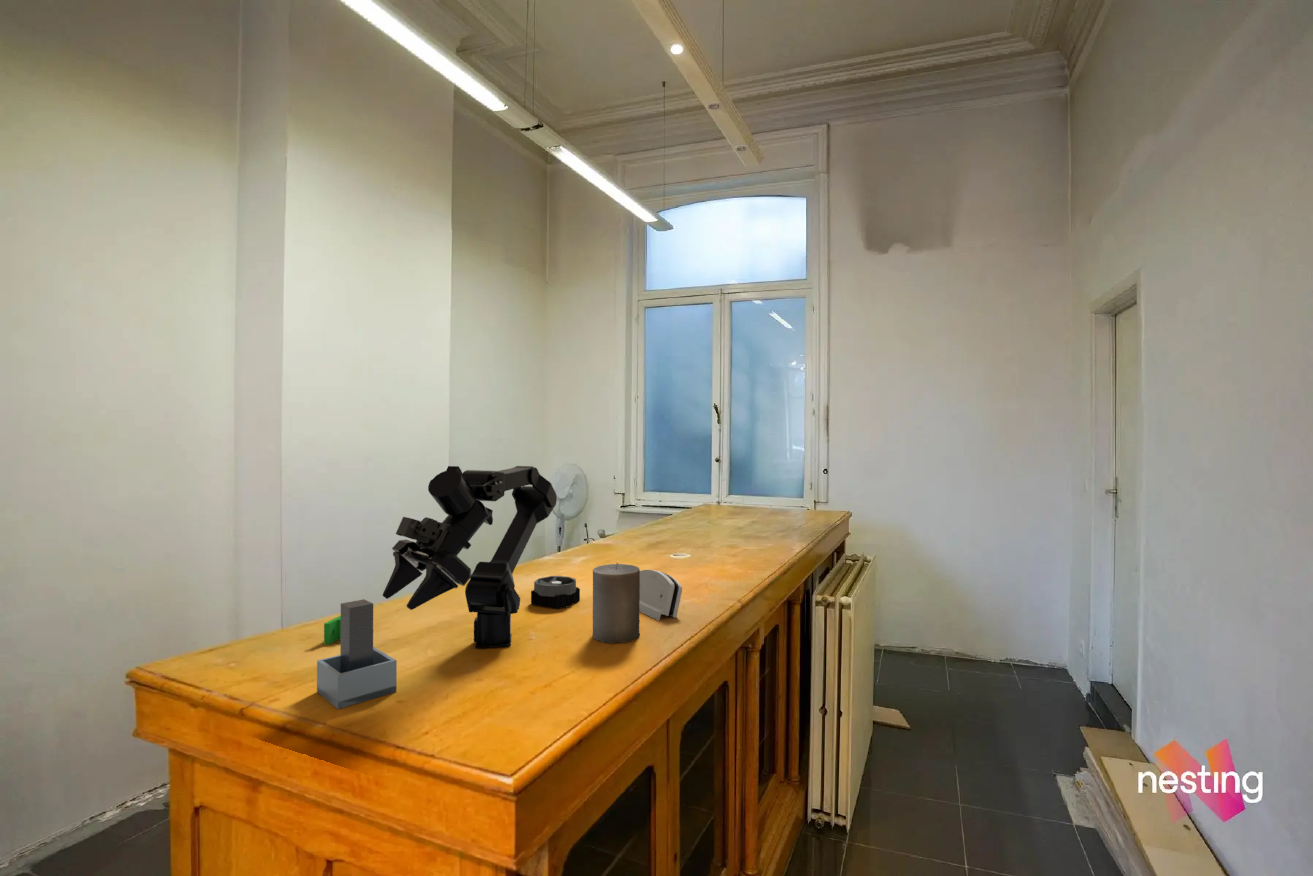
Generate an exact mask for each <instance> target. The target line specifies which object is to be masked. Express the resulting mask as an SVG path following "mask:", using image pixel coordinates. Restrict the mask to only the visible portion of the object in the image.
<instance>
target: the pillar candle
mask: <svg viewBox="0 0 1313 876" xmlns="http://www.w3.org/2000/svg"><path fill="white" fill-rule="evenodd" d="M640 571H641V569H640V568H639V567H638V566H636V565H633V564H625V563H624V564H623V563H618V562H616V563H614V564H613V563H610V564H602V565H597V566H596V567H594V568H593V569H592V637H593V638H594V640H596V641H598V642H602V643H607V644H620V643H630V642H632V641H635V640H637V639H639V638H640V635H641V633H640V622H641V621H640V615H641V614H640V613H641V612H640V608H639V606H640V605H639V602H640Z"/></svg>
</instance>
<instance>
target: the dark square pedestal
mask: <svg viewBox="0 0 1313 876" xmlns="http://www.w3.org/2000/svg"><path fill="white" fill-rule="evenodd" d="M340 616H341V640H340V655H341V667H340V673H344V672H348V671H352V670H356V669H360V668H364V667H367V666H371V665H373V647H374V603H372V602H371V601H368V600H366V599H363V598H362V599H358V600H352V601H347V602H342V603H340Z"/></svg>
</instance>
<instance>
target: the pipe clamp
mask: <svg viewBox="0 0 1313 876" xmlns="http://www.w3.org/2000/svg"><path fill="white" fill-rule="evenodd" d="M323 629H324V630H323V632H324V633H323V645H331V644H332V643H335V642H336V641H341V615H339V616H337V617H335V618H333V619H331V620H328V621H326V622H325V623H324V624H323Z"/></svg>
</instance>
